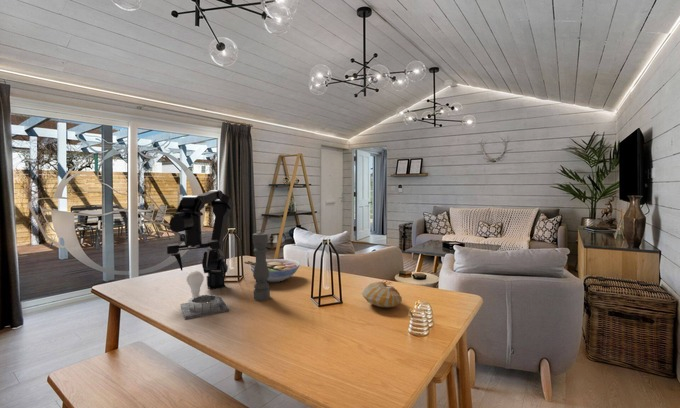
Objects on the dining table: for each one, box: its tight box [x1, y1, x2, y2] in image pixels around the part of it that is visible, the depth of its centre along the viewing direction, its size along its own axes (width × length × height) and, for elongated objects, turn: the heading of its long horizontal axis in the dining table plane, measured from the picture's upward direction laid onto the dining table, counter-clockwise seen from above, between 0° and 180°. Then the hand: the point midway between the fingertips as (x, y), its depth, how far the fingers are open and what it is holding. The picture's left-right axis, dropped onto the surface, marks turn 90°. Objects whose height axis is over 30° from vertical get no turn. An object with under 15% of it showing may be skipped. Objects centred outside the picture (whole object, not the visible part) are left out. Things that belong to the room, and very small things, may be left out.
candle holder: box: [252, 232, 271, 302], centre depth 132 cm, size 6×6×25 cm
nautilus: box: [361, 279, 403, 308], centre depth 125 cm, size 8×22×15 cm
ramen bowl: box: [243, 258, 301, 283], centre depth 157 cm, size 25×23×8 cm
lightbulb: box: [186, 270, 205, 298], centre depth 133 cm, size 6×6×11 cm
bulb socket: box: [180, 294, 230, 320], centre depth 122 cm, size 14×14×4 cm
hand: (194, 268), depth 132 cm, fingers open, 9 cm apart
